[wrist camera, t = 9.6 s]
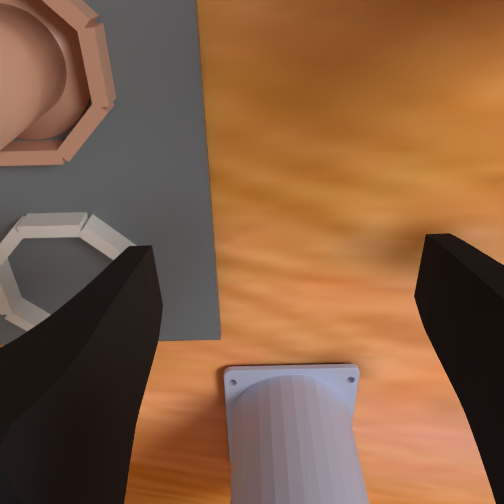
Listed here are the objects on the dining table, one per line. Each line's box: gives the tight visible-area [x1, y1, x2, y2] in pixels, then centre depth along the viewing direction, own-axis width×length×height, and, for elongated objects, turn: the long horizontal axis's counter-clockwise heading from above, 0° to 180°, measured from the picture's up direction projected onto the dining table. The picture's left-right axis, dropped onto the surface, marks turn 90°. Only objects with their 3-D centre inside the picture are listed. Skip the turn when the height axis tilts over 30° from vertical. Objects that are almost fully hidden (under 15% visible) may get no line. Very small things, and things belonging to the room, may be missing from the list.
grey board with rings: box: [0, 0, 221, 345], centre depth 20 cm, size 19×14×2 cm
